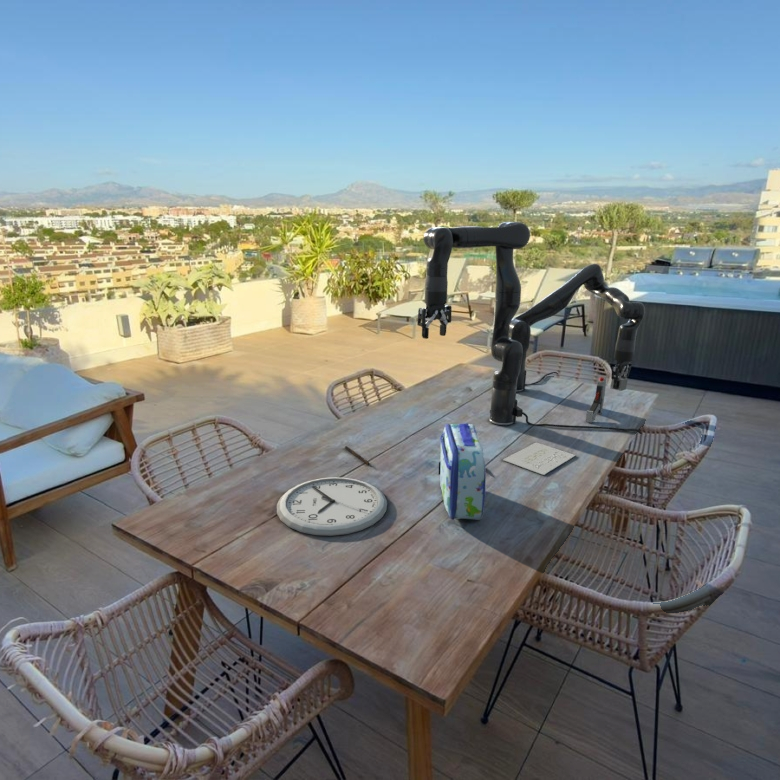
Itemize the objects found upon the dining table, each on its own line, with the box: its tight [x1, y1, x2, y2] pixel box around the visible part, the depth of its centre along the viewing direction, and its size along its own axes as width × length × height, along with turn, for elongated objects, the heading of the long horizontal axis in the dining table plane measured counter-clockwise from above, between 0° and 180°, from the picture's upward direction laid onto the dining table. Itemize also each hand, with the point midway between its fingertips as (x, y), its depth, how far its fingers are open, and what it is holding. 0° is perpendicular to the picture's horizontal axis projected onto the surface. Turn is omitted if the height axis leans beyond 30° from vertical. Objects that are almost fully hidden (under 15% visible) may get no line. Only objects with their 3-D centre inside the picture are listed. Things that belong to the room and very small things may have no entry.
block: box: [610, 375, 629, 392], centre depth 226 cm, size 5×4×5 cm
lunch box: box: [438, 422, 486, 521], centre depth 142 cm, size 26×11×21 cm, turn 179°
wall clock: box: [276, 476, 388, 537], centre depth 142 cm, size 30×2×30 cm
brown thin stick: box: [344, 445, 370, 465], centre depth 173 cm, size 15×1×1 cm, turn 34°
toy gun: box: [585, 376, 607, 424], centre depth 210 cm, size 2×16×15 cm
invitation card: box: [502, 442, 577, 476], centre depth 174 cm, size 21×1×15 cm
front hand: (434, 336), depth 180 cm, fingers open, 8 cm apart
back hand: (618, 387), depth 227 cm, fingers closed on block, 4 cm apart
